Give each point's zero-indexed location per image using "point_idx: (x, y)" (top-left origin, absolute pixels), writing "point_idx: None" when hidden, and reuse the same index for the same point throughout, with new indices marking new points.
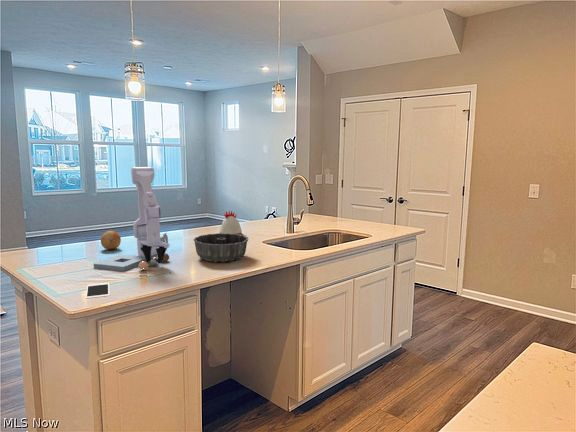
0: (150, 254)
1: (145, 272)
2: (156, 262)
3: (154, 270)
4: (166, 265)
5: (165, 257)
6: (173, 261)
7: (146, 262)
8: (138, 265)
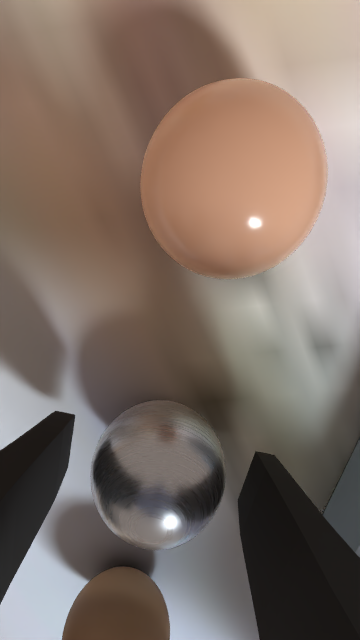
0: (260, 622)
1: (141, 78)
2: (108, 430)
3: (59, 216)
4: None
5: (83, 616)
6: (41, 584)
7: (170, 216)
8: (317, 131)
